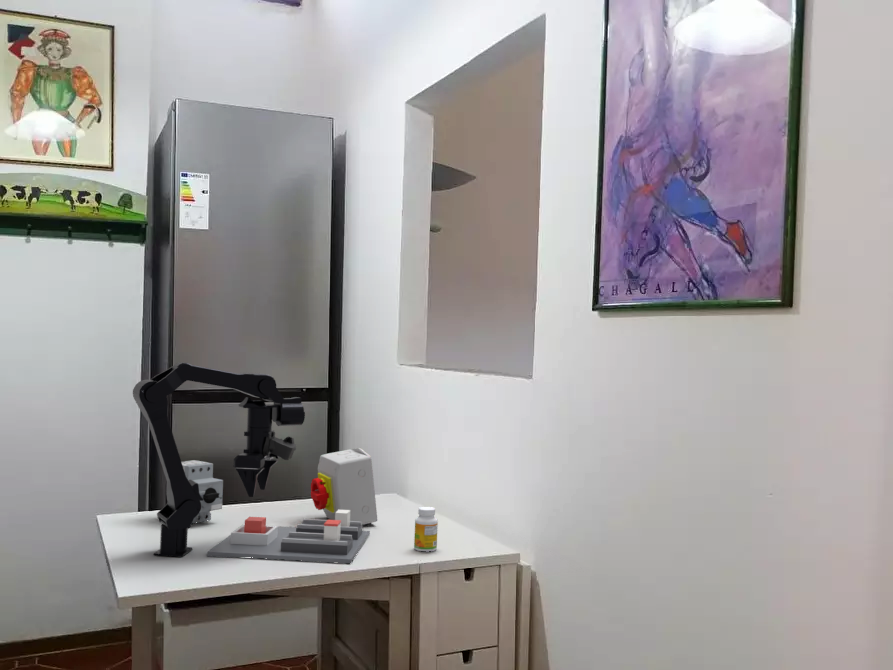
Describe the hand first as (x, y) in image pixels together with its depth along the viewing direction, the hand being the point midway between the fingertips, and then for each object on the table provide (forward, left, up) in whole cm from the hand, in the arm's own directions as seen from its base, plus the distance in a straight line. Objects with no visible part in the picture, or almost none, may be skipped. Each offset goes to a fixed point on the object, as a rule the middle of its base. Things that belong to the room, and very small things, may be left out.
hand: (257, 493), depth 190 cm
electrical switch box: (+27, -15, -12) cm, 33 cm away
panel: (+1, -9, -12) cm, 15 cm away
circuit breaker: (+19, +21, -12) cm, 31 cm away
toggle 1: (-5, -19, -9) cm, 22 cm away
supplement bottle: (+4, -40, -12) cm, 42 cm away
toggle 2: (+9, -19, -9) cm, 23 cm away
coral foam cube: (0, 0, -11) cm, 11 cm away
